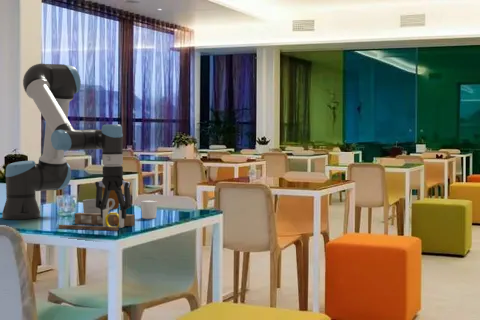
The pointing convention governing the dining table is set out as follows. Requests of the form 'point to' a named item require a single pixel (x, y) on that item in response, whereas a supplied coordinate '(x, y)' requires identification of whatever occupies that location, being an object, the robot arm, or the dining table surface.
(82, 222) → the wooden tray
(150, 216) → the white tapered cup
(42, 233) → the dining table surface
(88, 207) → the teacup
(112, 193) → the disposable coffee cup
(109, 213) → the yellow ring
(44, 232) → the dining table surface
